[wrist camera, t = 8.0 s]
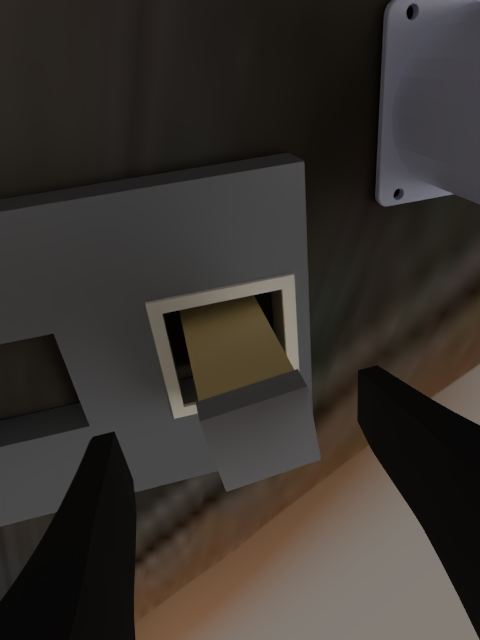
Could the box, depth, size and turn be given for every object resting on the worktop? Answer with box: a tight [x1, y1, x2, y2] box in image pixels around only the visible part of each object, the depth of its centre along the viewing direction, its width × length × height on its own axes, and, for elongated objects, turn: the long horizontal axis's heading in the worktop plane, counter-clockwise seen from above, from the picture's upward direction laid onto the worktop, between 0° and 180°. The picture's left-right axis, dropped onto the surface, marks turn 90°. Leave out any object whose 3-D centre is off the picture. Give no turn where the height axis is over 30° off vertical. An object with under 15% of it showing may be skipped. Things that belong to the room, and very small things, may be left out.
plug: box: [179, 295, 321, 492], centre depth 19 cm, size 4×4×8 cm
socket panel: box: [0, 153, 313, 526], centre depth 21 cm, size 18×16×2 cm
